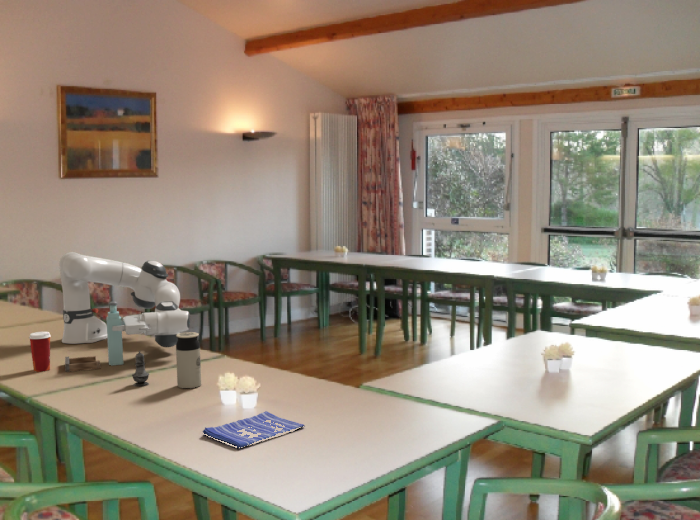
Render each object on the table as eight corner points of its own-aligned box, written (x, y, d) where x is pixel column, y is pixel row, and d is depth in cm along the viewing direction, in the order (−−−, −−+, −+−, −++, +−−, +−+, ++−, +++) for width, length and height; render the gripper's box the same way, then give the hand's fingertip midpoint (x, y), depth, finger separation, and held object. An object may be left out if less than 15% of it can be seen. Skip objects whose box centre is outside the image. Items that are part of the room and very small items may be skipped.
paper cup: (57, 368, 283) (55, 332, 281) (41, 373, 276) (39, 336, 274) (42, 366, 286) (40, 330, 285) (25, 371, 279) (23, 334, 278)
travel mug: (172, 387, 255) (170, 335, 253) (186, 381, 262) (184, 331, 260) (192, 390, 252) (190, 337, 250) (205, 383, 259) (204, 332, 257)
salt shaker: (134, 387, 255) (132, 353, 254) (130, 383, 261) (129, 349, 259) (151, 385, 258) (150, 351, 257) (147, 381, 263) (146, 348, 262)
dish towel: (200, 437, 207) (199, 427, 206) (266, 417, 224) (266, 407, 223) (238, 452, 195) (238, 442, 195) (305, 430, 212) (305, 420, 212)
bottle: (122, 361, 293) (119, 300, 290) (123, 364, 288) (120, 302, 286) (108, 362, 291) (105, 301, 289) (109, 365, 286) (106, 303, 284)
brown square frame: (99, 361, 294) (99, 353, 293) (100, 368, 282) (100, 360, 282) (65, 364, 289) (65, 356, 289) (65, 372, 278) (65, 364, 277)
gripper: (151, 336, 283) (113, 340, 279) (146, 327, 302) (110, 329, 298) (151, 320, 283) (112, 323, 278) (146, 311, 302) (110, 314, 297)
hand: (111, 326), depth 288 cm, fingers open, 6 cm apart
